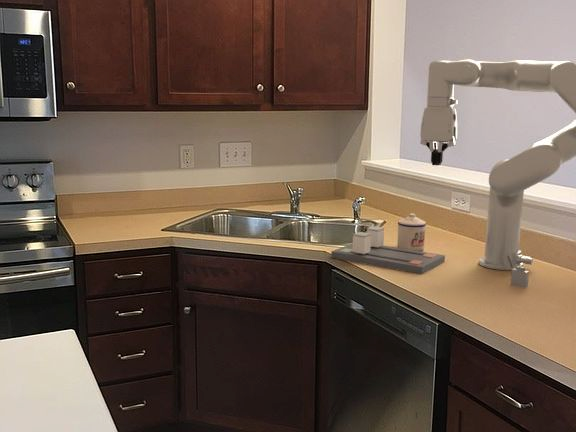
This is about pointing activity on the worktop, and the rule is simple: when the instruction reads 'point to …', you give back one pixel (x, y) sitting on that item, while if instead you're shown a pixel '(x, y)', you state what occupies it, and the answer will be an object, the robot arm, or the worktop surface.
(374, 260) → the panel
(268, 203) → the worktop surface
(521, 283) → the lighter
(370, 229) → the on switch
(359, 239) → the beige slider knob
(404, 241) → the teacup with lid
